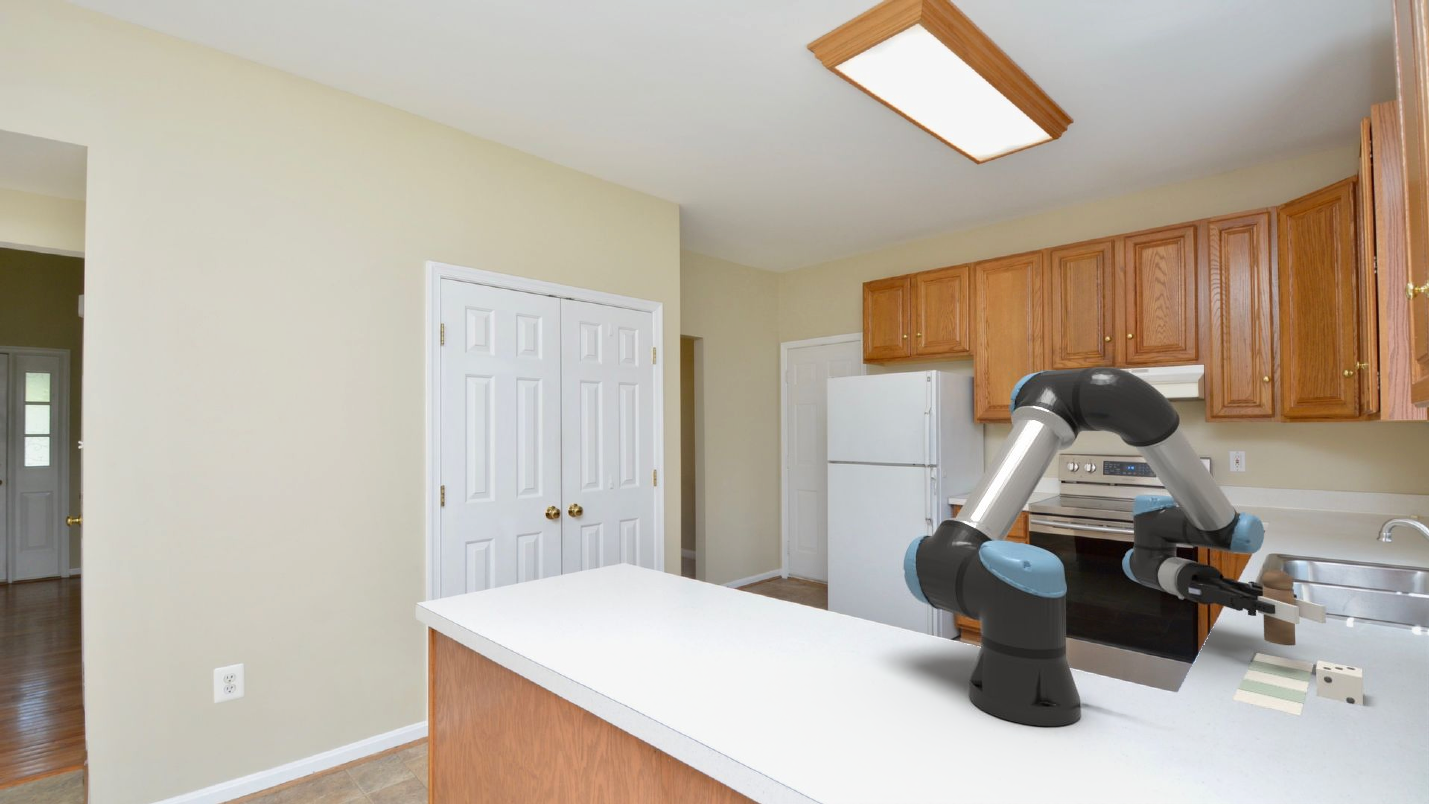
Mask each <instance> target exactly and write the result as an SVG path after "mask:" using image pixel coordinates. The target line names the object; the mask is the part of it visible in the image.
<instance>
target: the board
mask: <svg viewBox="0 0 1429 804" xmlns="http://www.w3.org/2000/svg"><path fill="white" fill-rule="evenodd" d="M1249 663H1250V666H1249V667H1248V669H1247V672H1246V673H1245V675H1244V677H1243V679H1242V681H1241V683H1240V684H1239V686H1238V688H1237V690H1236V691H1235V694H1234V695H1233V698H1232V701H1235V702H1239V703H1244V704H1249V705H1251V706H1255V707H1256V706H1257V707H1262V708H1266V709H1269V710H1273V711H1278V712H1281V713H1287V714H1290V715H1295V716H1298V717H1301V715H1302V711H1303V707H1304V703H1305V700H1306V699H1305V698H1306V695H1307V691H1308V689H1309V688H1308V687H1309V684H1310V680H1311V676H1312V675H1313V676H1316V666H1317V664H1314V663H1313V662H1312V663H1311V662H1306V661H1302V660H1296V659H1291V658H1285V657H1281V656H1277V655H1276V656H1275V655H1270V654H1265V653H1261V652H1260V653H1259V652H1254V653H1253V655H1252V657H1251V658H1250V661H1249Z"/></svg>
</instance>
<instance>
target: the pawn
mask: <svg viewBox="0 0 1429 804" xmlns="http://www.w3.org/2000/svg"><path fill="white" fill-rule="evenodd" d="M1262 584H1263V597H1266V598H1269V599H1273V600H1276V601H1280V602H1283V603H1287V604H1290V605H1294V594H1295V590H1294V588H1293V587H1294V580H1293V578H1292V576H1291V575H1290V574H1288V573H1287V572H1285V571H1283V570H1281V569H1270V570H1268V571H1266V572H1264V574H1263V575H1262ZM1262 615H1263V637H1264V638H1263V639H1264V641H1265V642H1268V643H1271V644H1276V645H1280V646H1296V624H1294V623H1290V622H1287V621H1284V620H1281V619H1278V618H1274V617H1271V616H1268V615H1265V614H1262Z"/></svg>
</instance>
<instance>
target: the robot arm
mask: <svg viewBox="0 0 1429 804" xmlns="http://www.w3.org/2000/svg"><path fill="white" fill-rule="evenodd" d="M1010 400H1011V403H1009V405H1008V406H1009V414H1010V417H1011V418H1010V420H1011V424H1012V427H1013V428H1012V429H1011V431H1010V432H1009V433H1008V436H1007V437H1006V438H1005V440H1004V442H1003V443H1002V445H1001V446H1000V448H999V449H998V451H996V454H995V456H994V457H993V459H992V460H991V462H990V463H989V465H988V467H987V468H986V469H985V471H984V472H983V474H982V476H981V478H980V479H979V480H978V482H977V483H976V485H975V487H974V488H973V490H972V491H971V493H970V494H969V496H968V498H967V499H966V500H965V502H964V503H963V505H962V506H961V509H959V512H958V513H957V514H956V516H955V517H950V518H945V519H944V520H942V521H941V523H940V524H939V526H938V527H937V528H936V530H935V532H934V533H933V534H932V535H928V534H926V535H922V536H918V537H916V538H914V539H913V540H911V542H910V544H909V545H908V547H907V548H906V552H905V554H904V557H903V570H904V581H905V583H906V587H907V588H908V590H909V591H910V592H909V593H911V594H912V596H913V597H914V598H915V599H916V600H917V601H920V602H922V603H924V604H926V605H929V606H930V607H931V608H933V609H935V610H942V611H945V612H949V613H952V614H955V615H957V616H962V617H965V618H968V619H971V620H974V621H978V622H980V649H979V651H978V655H977V658H976V661H975V663H974V666H973V668H972V672H971V675H970V677H969V681H968V682H969V683H968V685H969V686H968V687H969V688H968V690H969V693H968V694H969V695H968V697H969V699H970V701H971V702H972V703H973V704H974V705H975V706H976V707H978V708H979V710H982V711H984V712H985V713H988V714H990V715H993V716H995V717H997V718H1000V719H1004V720H1007V721H1010V722H1015V723H1020V724H1023V725H1024V724H1025V725H1031V726H1039V727H1041V726H1043V727H1055V726H1056V727H1058V726H1066V725H1070V724H1072V723H1075V722H1077V721H1078V720H1080V717H1081V715H1082V713H1081V712H1082V710H1081V709H1082V708H1081V704H1082V703H1081V696H1080V694H1079V690H1078V689H1077V685H1076V682H1075V679H1074V676H1073V674H1072V670H1071V669H1070V666H1069V662H1068V660H1067V617H1066V616H1067V610H1066V609H1067V604H1066V603H1067V600H1066V599H1067V597H1066V596H1067V595H1066V594H1067V591H1068V589H1067V588H1068V587H1067V582H1066V578H1065V577H1066V576H1065V567H1064V564H1063V562H1062V561H1061V559H1060V558H1059V557H1058V556H1057V555H1056V554H1054V553H1053V552H1050V551H1049V550H1046V549H1044V548H1041V547H1038V546H1035V545H1032V544H1027V543H1022V542H1015V541H1009V540H1006V538H1007V536H1008V535H1009V533H1010V531H1012V528H1013V526H1014V525H1015V523H1016V521H1017V520H1018V518H1019V516H1020V515H1021V514H1022V511H1023V510H1024V508H1025V506H1026V505H1027V503H1028V502H1029V500H1030V498H1031V496H1032V494H1033V493H1034V492H1035V490H1036V488H1037V486H1038V485H1039V483H1040V482H1041V480H1042V478H1043V476H1044V474H1045V473H1046V471H1047V470H1048V468H1049V466H1050V465H1051V463H1052V462H1053V460H1054V458H1055V456H1056V455H1057V453H1058V452H1059V451H1063V450H1067V449H1069V448H1070V447H1072V446H1073V444H1074V443H1075V441H1076V439H1077V438H1078V435H1079V434H1080V433H1081V432H1088V431H1089V432H1101V431H1102V432H1104V431H1105V432H1110V433H1113V434H1115V435H1117V436H1119V437H1120V438H1121V440H1122V441H1123V443H1125V444H1126V445H1128V446H1130V447H1133V448H1135V449H1137V451H1138V452H1139V454H1140V455H1141V457H1142V458H1143V459H1144V461H1145V462H1146V463H1147V465H1148V466H1149V468H1150V470H1151V471H1152V472H1153V473H1154V474H1155V476H1156V477H1157V478H1158V480H1159V481H1160V483H1161V485H1163V486H1164V488H1165V490H1166V491H1167V492H1168V494H1169V495H1170V496H1169V495H1161V494H1160V495H1159V494H1140V495H1136V496H1135V497H1134V498H1133V509H1132V515H1131V516H1132V519H1133V520H1132V521H1133V548H1130V549H1129V550H1128V551H1126V553H1125V554H1124V555H1125V556H1124V557H1123V558H1122V563H1121V564H1122V570H1123V572H1124V574H1125V575H1126V576H1127V577H1128V578H1129V579H1130V580H1132V581H1134V582H1136V583H1138V584H1141V585H1142V586H1145V587H1147V588H1152V589H1156V590H1159V591H1161V592H1166V593H1167V594H1170V595H1174V596H1177V597H1178V599H1179V600H1184V599H1187V600H1189V601H1192V602H1194V603H1198V604H1201V605H1205V606H1206V605H1213V604H1216V605H1219V606H1223V607H1225V608H1229V609H1232V610H1236V611H1239V612H1240V611H1244V610H1246V611H1247V616H1252V617H1256V616H1257V612H1258V614H1262V615H1263V614H1265V615H1268V616H1271V617H1274V618H1278V619H1281V620H1284V621H1287V622H1290V623H1294V624H1295V625H1299V624H1300V618H1303V619H1307V620H1309V621H1312V622H1316V623H1319V624H1326V623H1327V613H1326V611H1327V610H1326V609H1327V608H1326V605H1322V604H1318V603H1315V602H1311V601H1308V600H1304V599H1300V598H1298V595H1297V594H1295V593H1294V605H1290V604H1287V603H1283V602H1280V601H1276V600H1273V599H1269V598H1266V597H1263V585H1264V584H1263V585H1262V584H1260V583H1258V582H1255V581H1248V583H1247V582H1242V581H1237V580H1235V579H1234V578H1230V577H1225V576H1224V574H1223V573H1222V572H1221V571H1220V570H1219V569H1218V568H1217V567H1214V566H1212V565H1210V564H1206V563H1201V562H1197V561H1194V560H1191V559H1186V558H1182V557H1178V556H1177V548H1178V547H1177V545H1184V546H1191V547H1198V548H1202V549H1203V548H1204V549H1210V550H1215V551H1216V550H1217V551H1224V552H1229V553H1239V554H1248V555H1251V554H1252V555H1253V554H1255V553H1257V552H1259V550H1261V548H1262V545H1263V543H1264V539H1265V530H1264V529H1265V528H1264V525H1263V522H1262V520H1261V519H1260V518H1259V517H1258V516H1256V515H1255V514H1249V513H1245V512H1241V513H1240V512H1237V510H1236V509H1235V507H1234V506H1233V505H1232V503H1231V502H1230V500H1229V498H1227V496H1226V495H1225V493H1224V491H1223V490H1222V489H1221V487H1220V485H1219V484H1218V482H1217V481H1216V480H1215V478H1214V476H1212V473H1210V471H1209V469H1208V468H1207V467H1206V465H1205V463H1204V462H1203V460H1202V459H1201V458H1200V456H1199V455H1198V453H1197V451H1196V450H1195V449H1194V447H1193V446H1192V444H1191V443H1190V441H1189V440H1188V439H1187V436H1185V434H1184V432H1183V431H1182V430H1181V428H1180V426H1181V417H1180V414H1179V413H1178V412H1177V411H1176V408H1175V407H1174V406H1173V404H1172V403H1171V401H1169V400H1168V399H1167V397H1166V396H1165V395H1164V394H1162V392H1160V391H1159V390H1158V389H1156V387H1154V386H1153V385H1152V384H1150V383H1149V382H1147V381H1146V380H1144V379H1142V378H1141V377H1139V376H1137V375H1135V374H1133V373H1132V372H1129V371H1126V370H1124V369H1120V368H1118V367H1117V368H1116V367H1111V366H1095V367H1086V368H1071V369H1057V370H1056V369H1055V370H1053V369H1052V370H1043V371H1042V370H1041V371H1039V372H1034V373H1033V372H1032V373H1029V374H1027V375H1025V376H1023V377H1021V379H1020V380H1018V382H1017V383H1015V385H1014V388H1013V389H1012V391H1011V394H1010Z"/></svg>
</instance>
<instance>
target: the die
mask: <svg viewBox="0 0 1429 804" xmlns="http://www.w3.org/2000/svg"><path fill="white" fill-rule="evenodd" d="M1316 665H1317V666H1316V675H1315V676H1316V697H1320V698H1324V699H1330V700H1334V701H1338V702H1343V703H1348V704H1351V705H1356V706H1362V707H1363V706H1364V693H1363V692H1364V690H1363V689H1364V688H1363V686H1364V684H1363V669H1362V668H1359V667H1356V666H1355V667H1354V666H1349V665H1345V664H1344V665H1343V664H1337V663H1332V662H1328V661H1323V660H1322V661H1321V660H1317V662H1316Z"/></svg>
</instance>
